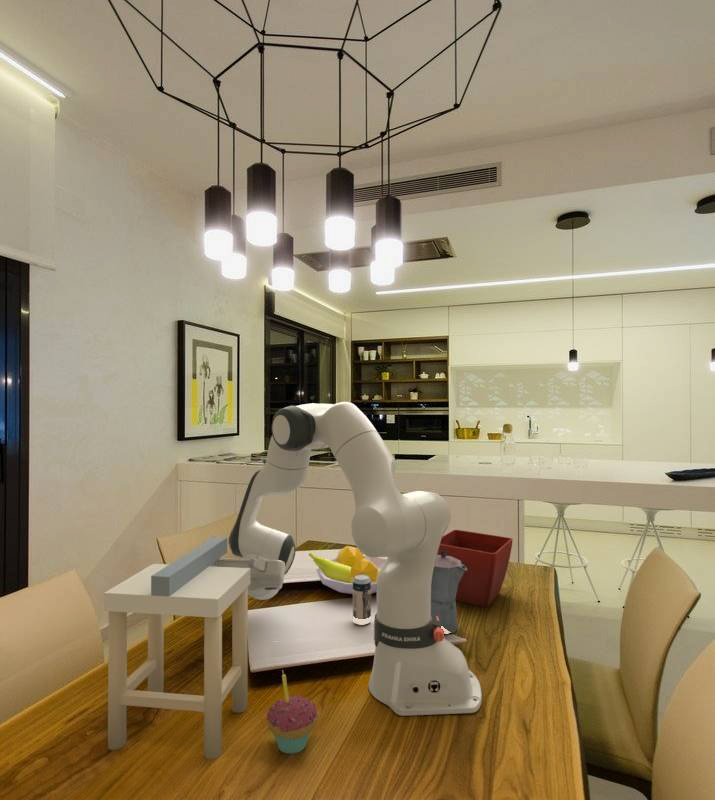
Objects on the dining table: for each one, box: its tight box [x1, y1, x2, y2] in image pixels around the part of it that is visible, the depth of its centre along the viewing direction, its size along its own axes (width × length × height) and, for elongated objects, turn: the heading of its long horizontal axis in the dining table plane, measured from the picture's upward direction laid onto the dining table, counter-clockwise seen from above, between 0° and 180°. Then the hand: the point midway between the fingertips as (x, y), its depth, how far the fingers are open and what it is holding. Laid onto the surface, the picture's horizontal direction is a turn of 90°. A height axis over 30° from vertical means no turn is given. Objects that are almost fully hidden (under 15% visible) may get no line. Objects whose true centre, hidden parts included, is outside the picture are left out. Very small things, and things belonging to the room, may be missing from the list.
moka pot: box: [431, 550, 467, 634], centre depth 126 cm, size 10×15×20 cm, turn 58°
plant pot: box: [437, 529, 514, 608], centre depth 146 cm, size 19×19×17 cm
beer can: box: [352, 574, 372, 619], centre depth 128 cm, size 5×5×12 cm
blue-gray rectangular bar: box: [151, 536, 228, 596], centre depth 92 cm, size 3×24×3 cm, turn 172°
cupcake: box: [266, 669, 319, 754], centre depth 83 cm, size 9×8×12 cm
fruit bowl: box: [308, 545, 387, 595], centre depth 154 cm, size 28×27×11 cm
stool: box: [103, 563, 250, 761], centre depth 87 cm, size 20×15×26 cm
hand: (232, 561), depth 110 cm, fingers open, 8 cm apart
